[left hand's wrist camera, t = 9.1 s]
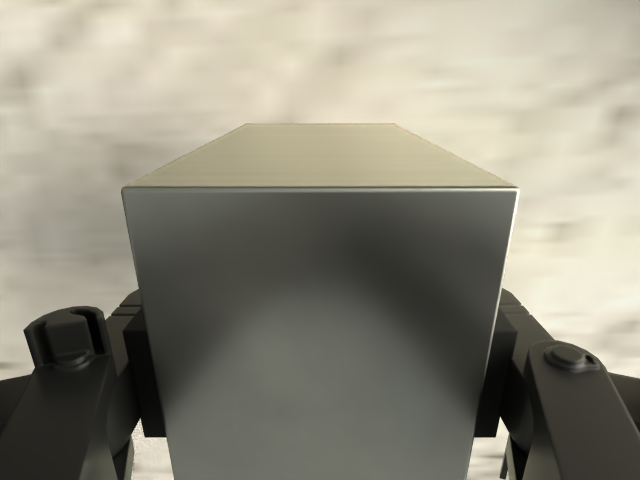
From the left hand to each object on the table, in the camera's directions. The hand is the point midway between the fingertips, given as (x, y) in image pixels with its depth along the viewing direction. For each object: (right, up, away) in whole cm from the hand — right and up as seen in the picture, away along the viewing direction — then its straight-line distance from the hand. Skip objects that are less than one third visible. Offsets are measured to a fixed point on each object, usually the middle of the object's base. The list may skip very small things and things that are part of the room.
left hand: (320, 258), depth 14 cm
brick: (0, +1, +3) cm, 4 cm away
